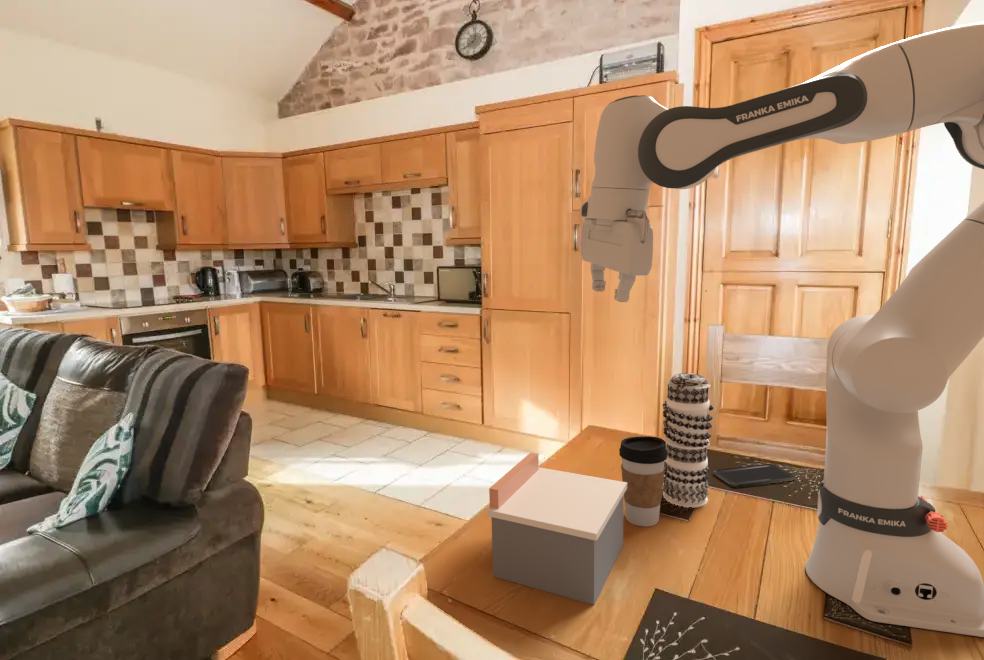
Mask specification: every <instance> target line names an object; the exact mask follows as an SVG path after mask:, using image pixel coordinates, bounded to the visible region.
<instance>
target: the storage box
mask: <svg viewBox="0 0 984 660" xmlns="http://www.w3.org/2000/svg"><path fill="white" fill-rule="evenodd" d="M490 518H491V544H492V547H491V550H492V575H493V576H492V577H493V578H498V579H500V580H505V581H507V582H508V581H509V582H511V583H514V584H519V585H523V586H524V587H525V586H526V587H528V588H532V589H537V590H540V591H543V592H546V593H550V594H554V595H558V596H560V597H565V598H568V599H571V600H575V601H579V602H581V603H584V604H585V603H586V604H589V605H593V606H595V604H596V602H597V600H598V598H599V596H600V594H601V592H602V590H603V588H604V586H605V584H606V581H607V579H608V577H609V575H610V573H611V571H612V569H613V567H614V565H615V563H616V561H617V558H618V557H619V555H620V553H621V550H622V548H623V547H624V495H623V496H622V498H621V500H620V502H619V503H618V505H617V507H616V508H615V510H614V512H613V514H612V515H611V517H610V519H609V520H608V522H607V524H606V526H605V527H604V529H603V531H602V532H601V534H600V536H599V538H598V539H597V541H595V540H591V539H586V538H582V537H577V536H573V535H569V534H564V533H560V532H555V531H551V530H547V529H542V528H538V527H533V526H529V525H525V524H520V523H516V522H511V521H507V520H503V519H498V518H494V517H490Z"/></svg>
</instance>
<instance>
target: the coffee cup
mask: <svg viewBox="0 0 984 660" xmlns="http://www.w3.org/2000/svg"><path fill="white" fill-rule="evenodd" d="M666 445H667V443H666V442H665V440H664V439H663V438H661V437H657V436H650V435H648V436H647V435H645V436H643V435H642V436H641V435H640V436H631V437H626V438H623V439H622V440H621V441H620V448H618V449H619V454H618V455H619V457H620V458H621V464H620V469H621V478H622V479H621V480H622V482H627V490H626V491H625V493H624V498H623V501H624V512H625V519H626V520H627V521H628V522H629V523H630V524H632V525H635V526H638V527H652V526H655V525H657V524H658V523H659V521H660V511H661V503H662V498H663V497H662V495H663V485H664V483H663V481H664V477H665V475H664V472H665V467H664V462H665V460H666V459H667V451H666Z"/></svg>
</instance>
